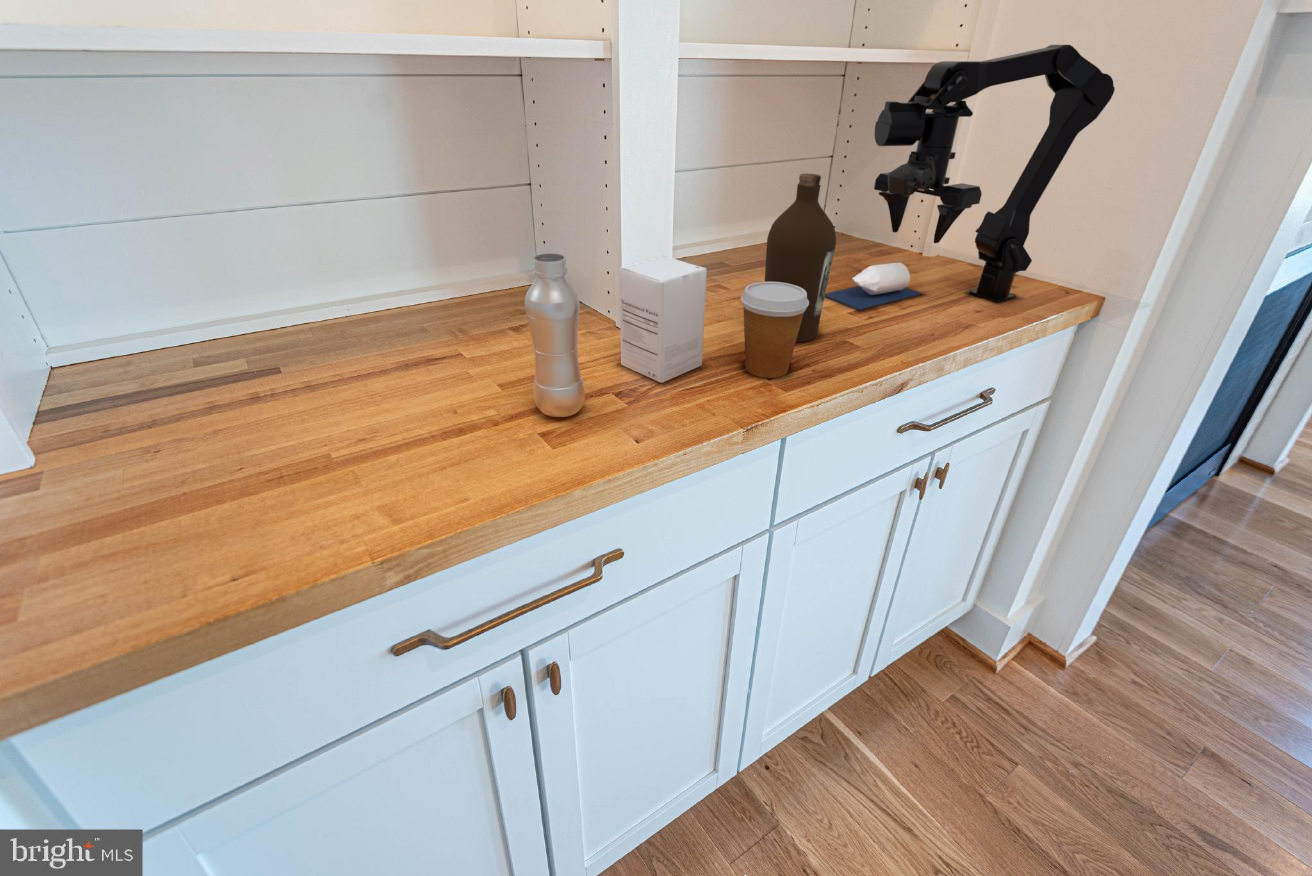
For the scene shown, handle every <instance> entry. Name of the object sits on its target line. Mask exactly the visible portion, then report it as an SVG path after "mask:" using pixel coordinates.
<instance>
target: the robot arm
mask: <svg viewBox="0 0 1312 876" xmlns="http://www.w3.org/2000/svg"><path fill="white" fill-rule="evenodd" d="M1040 76H1041V77H1042V76H1044V78H1045V81H1046V84H1047V86H1048V88H1049V89H1050V90H1051V91H1052V92H1053V93H1054V96H1053V98H1052V101H1051V103H1050V106H1049V120H1048V125H1047V128H1046V129H1045V132H1044V133H1043V135H1042V136H1041V138H1040V140H1039V142H1038V144H1037V146H1036V147H1035V149H1034V151H1033V153H1032V155H1031V157H1030V158H1029V160H1028V162H1027V164H1026V165H1025V167H1024V169H1023V171H1022V173H1021V174H1020V176H1019V178H1018V180H1017V181H1016V183H1015V185H1014V187H1013V188H1012V190H1011V192H1010V194H1009V196H1008V197H1007V199H1006V201H1005V203H1004V204H1003V205H1002V206H1001V208H999V209H998V210H997V211H995V212H991V211H987V212H985V215H984V217H983V219H982V221H981V224H979V226H978V228H976V229H975V233H976V236H975V238H974V243H975V247H976V249H977V252H978V254H977V255H978V260H980V261H983V262H985V263H984V266H983V269H982V272H981V275H980V277H979V282H978V285H977V288H974V289H971V290H969V291H968V294H970V295H973V296H976V297H979V298H982V299H986V300H989V301H991V302H995V303H1002V302H1005V301H1008V300H1012V299H1015V298H1017V294H1016V293H1012V292H1011V290H1012V286H1013V283H1014V281H1015V277H1016V274H1017V273H1019V272H1026V271H1027V270H1028V268H1029V267H1030V265H1031V263H1032V262H1033V260H1032V258H1031V256H1030V255H1029V252H1028V251H1027V250H1026V248H1025V247H1024V246H1025V244H1026V242H1027V239H1028V237H1029V233H1030V223H1031V216H1032V213H1033V211H1034V210H1035V208H1036V206H1037V205H1038V203H1039V202H1040V199H1041V198H1042V196H1043V194H1044V192H1045V191H1046V190H1047V188H1048V186H1049V184H1050V182H1051V181H1052V179H1053V177H1054V175H1055V174H1056V172H1057V170H1058V169H1059V166H1060V165H1061V163H1062V162H1063V160H1064V158H1065V156H1066V155H1067V153H1068V152H1069V149H1070V147H1072V145H1073V143H1074V142H1075V141H1074V140H1075V139H1076V137H1077V136H1078V135H1079V133H1080V132H1082V131H1083V130H1084V129H1086V128H1087V127H1089V125H1091V124H1092V123H1093V122H1094V121H1095V120H1096V119H1097V118H1098V117H1099V116H1100V114H1101V113H1102V112H1103V111H1104V109H1105V108H1106V107H1107V105H1108V103H1109V102H1110V101H1111V100H1112V98H1113V96H1114V93H1115V90H1116V88H1115V86H1114V80H1113V77H1112V76H1111V75H1110V74H1108V73H1106V72H1105V73H1104V72H1102V71H1101V69H1100V68H1099V67H1098V66H1096V65H1095V64H1094V63H1092V62H1090V61H1089V60H1088V59H1086V58H1085V57H1084V56H1082V54H1080V52H1079V51H1078V50H1077V48H1075V47H1074V46H1073V45H1071V44H1050V45H1048V46H1046V47H1043V48H1038V49H1033V50H1027V51H1024V52H1020V53H1014V54H1009V55H1005V56H1000V57H994V58H991V59H985V60H974V61H973V60H955V61H954V60H942V61H939V62H936V63H934V64H933V65H932V66H931V68H930V69H929V71H928V72H927V73H926V76H925V78H924V81H923V82H922V84H921V85H920V86H919V87H918V88H917V90H916V91H915V92H914V93H913V95H912V96H911V97H910V98H909V100H908V101H907V102H899V101H894V100H887V101H885V103H884V107H883V109H882V111H880V113H879V115H878V117H877V121H876V122H875V124H874V140H875V143H876V145H877V146H878V147H911V146H913V145H915V144H916V143H917V145H916V150H911V151H910V154H909V156H908V160H907V162H906V163H903V164H901V165H899V166H898V167H896V168H894V169H893V170H891V171H889V172H880V173H879V174H878V176H877V177H876V178H875V181H874V186H873V190H874V191H879V192H878V195H879V196H881V197H882V198H883V199H884V200H885V202H886V203H887V207H888V212H889V217H890V218H889V219H890V225H891V231H892V233H894V234H895V233H898V232H899V230H900V227H901V225H902V223H903V219H904V215H905V213H906V209H907V206H908V203H909V199H910V196H912V195H913V194H915V193H919V194H924V195H928V196H934V197H937V198H939V200H940V201H941V204H937V205H936V208H937V210H938V213H939V214H938V218H937V222H936V227H935V231H934V235H933V244H939V243H940V241H941V240H942V239H943V238H944V236H945V235H946V233H948V231H949V230H950V228H951V227H952V225H953V224H954V222H955V221H956V220H957V219H958V218H959V217H960V215H961V214H962V213H963V212H964V211H965V210H966V209H970V208H972V207H973V206H974V205H980V202H981V199H982V194H983V192H982V190H981V187H980V186H979V185H974V184H968V183H956V184H949V183H950V179H951V177H949V176H947V172H948V168H949V163H950V160H954V159H955V158H956V154H957V152H955V151H953V146H954V141H955V137H956V133H957V129H958V125H959V120H960V118H965V117H966V118H969V117H972V116H973V115H974V112H973V111H972V110H971V108H970V107H969V106H968V104H967V101H966V99H968V98H971V97H973V96H975V95H978V94H979V93H981V92H982V91H983V90H985V89H989V88H990V87H993V86H998V85H1003V84H1008V83H1013V82H1017V81H1021V80H1027V79H1031V78H1036V77H1040ZM950 103H953V104H950ZM927 110H931V111H927Z"/></svg>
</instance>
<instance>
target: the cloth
mask: <svg viewBox="0 0 1312 876" xmlns="http://www.w3.org/2000/svg"><path fill="white" fill-rule="evenodd" d="M922 295H923V292H919V291H916V290H913V289H910V288H908V287H906V288H904V289H903V290H900V291H894V292H888V293H882V294H877V295H871V294H868V293H867V292H866V291H864V290H863V289H862V288H861V287H859V286H858V285H857V286H853V287H849V288H845V289H844V288H843V289H840V290H836V291H831V292H827V293H825V297H824V298H827V299H829V300H832V301H834V302H836V303H838V304H839V303H840V304H842V305H845V306H847V307H849V308H852V309H854V310H857V311H863V310H866V309H867V310H868V309H871V308H875V307H878V306H882V305H886V304H887V305H888V304H891V303H895V302H898V301H903V300H906V299H911V298H914V297H918V296H922Z"/></svg>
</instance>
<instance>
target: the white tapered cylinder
mask: <svg viewBox="0 0 1312 876" xmlns="http://www.w3.org/2000/svg"><path fill="white" fill-rule="evenodd" d="M851 280H852V281H854V283H855V284H856V285H857V286H859V287H861V288H862V289H863V290H864V291H866V292H867V293H868V294H871V295H877V294H882V293H888V292H894V291H900V290H903V289H904V288H908V285H909V283H910V282H911V273H910V271H909V269H908V267H907V266H906V265H905V264H904V263H902V262H890V263H882V264H873V265H869V266H868V267H866V268H865V269H863V270H862V271H860V273H858V274H856V275H855V276H854V277H852V279H851Z"/></svg>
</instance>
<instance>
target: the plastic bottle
mask: <svg viewBox="0 0 1312 876" xmlns="http://www.w3.org/2000/svg"><path fill="white" fill-rule="evenodd" d="M532 271H533V275H534V276H535V279H534V281H533V282H532V284H531V285H530V286H529V288H528V290H527V292H526V294H525V298H524V309H525V312H526V318H527V321H528V325H529V330H530V334H531V339H532V346H533V354H534V378H533V388H532V389H533V390H532V396H533V399H534V403H535V406H536V408H538V411H540V412H541V413H542V414H544V415H546V416H548V417H554V418H564V417H565V418H566V417H570V416H573V415H575V414H577V413H578V412H580V410H581V409H582V407H583V406H584V404H585V397H586V390H585V385H584V381H583V377H582V374H581V367H580V361H579V354H578V353H579V352H578V330H579V320H580V305H581V303H580V299H579V296H578V293H577V292H576V290H575V288H574V287H573V286H572V284H571V283H570V282H569V280H567V278H566V275H567V274H568V268H567V260H566V256H565V255H564V254H560V253H552V252H551V253H550V252H549V253H548V252H547V253H540V254H539V253H538V254H536V255H534V256H533V269H532Z"/></svg>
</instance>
